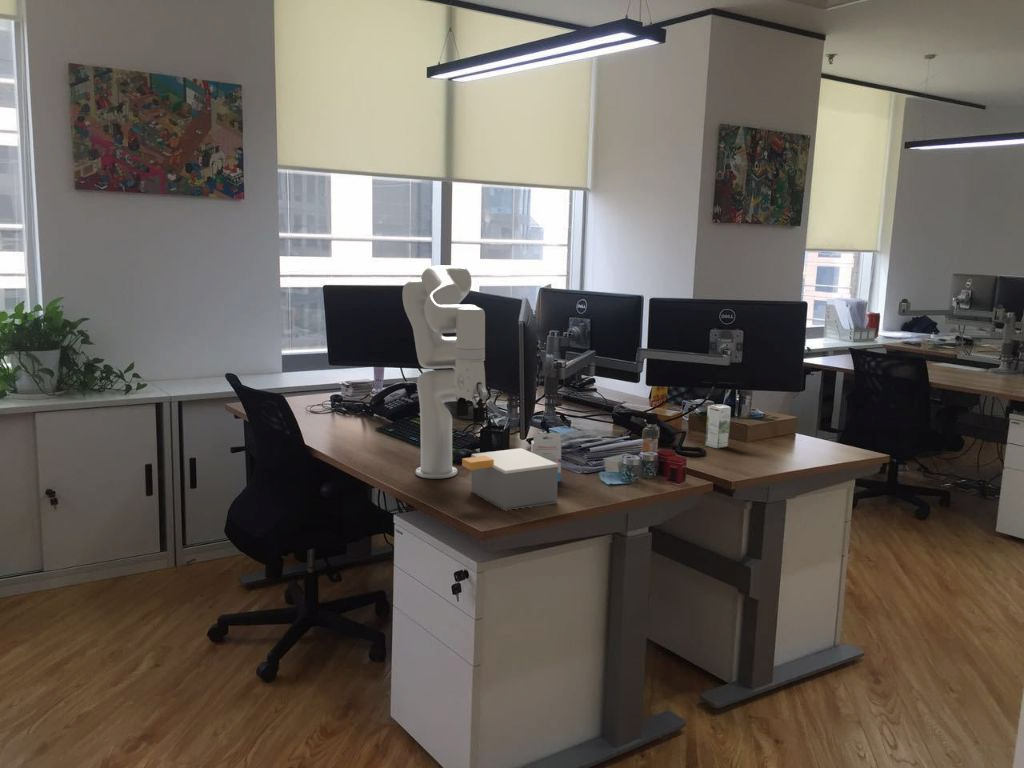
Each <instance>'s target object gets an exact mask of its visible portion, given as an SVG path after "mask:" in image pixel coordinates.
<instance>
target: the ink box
mask: <svg viewBox="0 0 1024 768" xmlns="http://www.w3.org/2000/svg"><path fill="white" fill-rule="evenodd" d="M547 437H549V438H547ZM545 438H547V439H545ZM530 443H531V444H530V452H531V453H534V454H536V455H538V456H541V457H543V458H545V459H548V460H550V461H552V462H555V463H557V464H558V482H557V483H560V482H561V481H562V433H560V432H555V433H553V432H551V433H550V432H547V433H533V440H531V442H530Z"/></svg>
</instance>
